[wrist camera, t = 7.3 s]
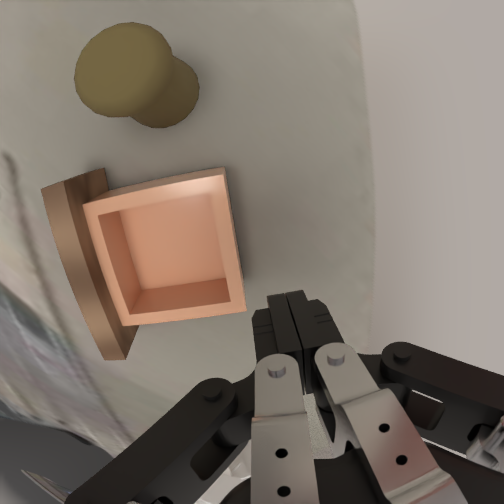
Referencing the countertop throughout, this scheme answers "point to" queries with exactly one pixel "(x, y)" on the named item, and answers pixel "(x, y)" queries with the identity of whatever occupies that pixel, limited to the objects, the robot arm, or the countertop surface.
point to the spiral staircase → (229, 478)
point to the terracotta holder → (169, 248)
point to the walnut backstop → (86, 260)
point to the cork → (135, 77)
